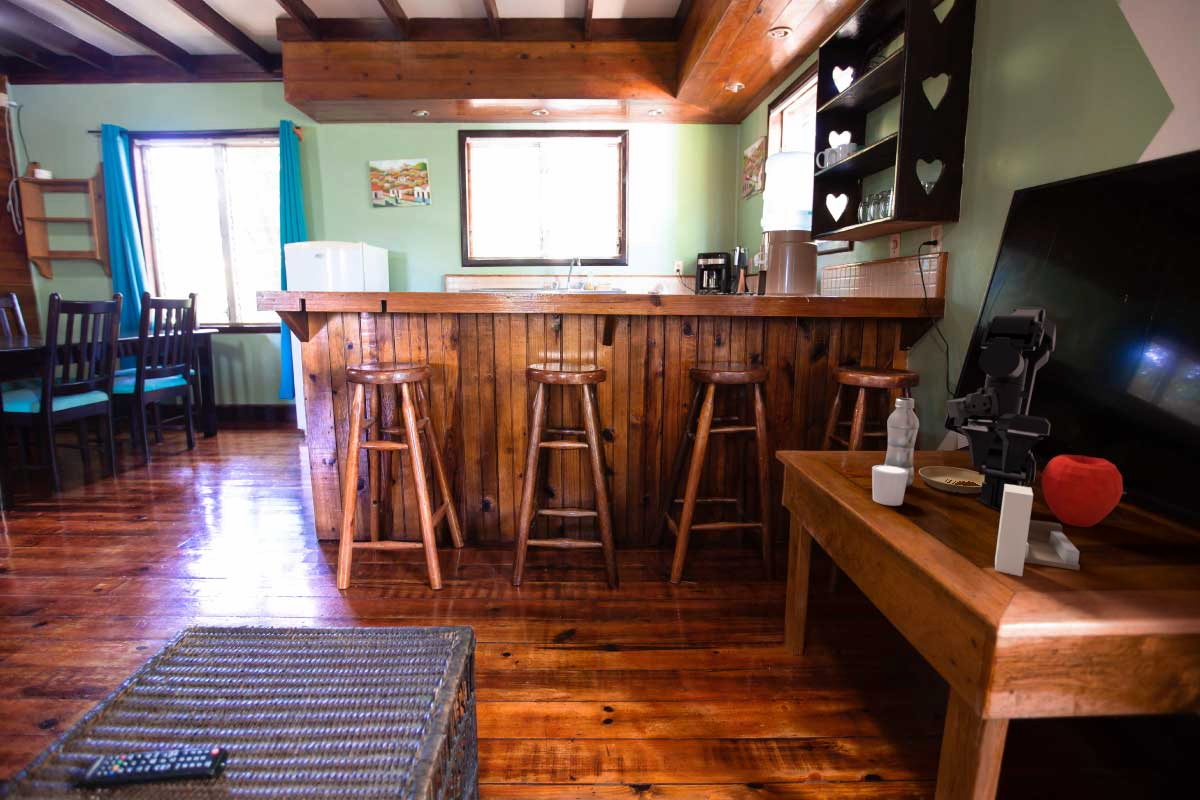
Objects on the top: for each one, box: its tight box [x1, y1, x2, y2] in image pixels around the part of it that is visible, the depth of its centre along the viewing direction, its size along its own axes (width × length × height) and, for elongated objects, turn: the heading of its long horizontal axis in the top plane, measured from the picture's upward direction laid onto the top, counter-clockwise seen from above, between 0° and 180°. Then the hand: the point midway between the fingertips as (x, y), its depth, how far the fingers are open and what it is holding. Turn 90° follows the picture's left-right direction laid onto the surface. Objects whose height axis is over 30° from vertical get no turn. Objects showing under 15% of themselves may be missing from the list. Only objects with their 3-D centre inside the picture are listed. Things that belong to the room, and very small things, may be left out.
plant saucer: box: [918, 466, 985, 494], centre depth 131 cm, size 15×15×3 cm
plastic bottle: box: [883, 397, 920, 487], centre depth 130 cm, size 6×7×20 cm
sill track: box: [1024, 519, 1081, 571], centre depth 96 cm, size 10×9×4 cm
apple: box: [1041, 454, 1124, 528], centre depth 108 cm, size 12×12×13 cm
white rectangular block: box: [994, 484, 1034, 577], centre depth 90 cm, size 4×3×13 cm
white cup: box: [871, 464, 909, 507], centre depth 120 cm, size 7×7×7 cm
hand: (990, 470), depth 103 cm, fingers open, 9 cm apart
